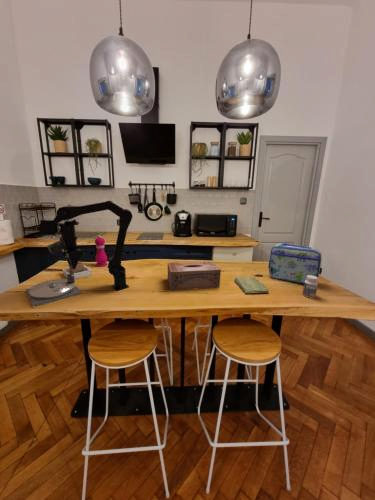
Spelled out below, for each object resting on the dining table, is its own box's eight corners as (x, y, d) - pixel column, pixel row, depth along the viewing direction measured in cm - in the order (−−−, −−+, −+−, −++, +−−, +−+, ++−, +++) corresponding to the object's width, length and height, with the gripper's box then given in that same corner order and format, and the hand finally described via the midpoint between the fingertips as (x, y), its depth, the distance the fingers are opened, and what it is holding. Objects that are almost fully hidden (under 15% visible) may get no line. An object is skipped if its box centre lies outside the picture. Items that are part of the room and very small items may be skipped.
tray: (92, 275, 122) (91, 270, 121) (69, 280, 114) (68, 275, 113) (84, 269, 130) (84, 264, 129) (63, 274, 122) (62, 269, 121)
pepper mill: (103, 267, 134) (101, 236, 129) (93, 266, 136) (90, 236, 130) (109, 264, 141) (107, 234, 136) (100, 263, 142) (97, 233, 137)
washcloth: (245, 295, 103) (246, 289, 102) (232, 281, 120) (233, 275, 119) (270, 294, 105) (271, 288, 104) (254, 280, 122) (255, 275, 121)
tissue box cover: (170, 290, 106) (170, 272, 103) (167, 279, 120) (167, 262, 117) (219, 287, 111) (220, 269, 108) (211, 277, 125) (212, 261, 122)
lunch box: (265, 277, 126) (270, 243, 120) (269, 272, 134) (274, 240, 129) (316, 288, 112) (323, 250, 106) (317, 282, 121) (324, 246, 115)
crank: (33, 303, 88) (31, 290, 86) (26, 288, 100) (24, 277, 99) (81, 290, 100) (79, 279, 98) (69, 279, 112) (68, 268, 111)
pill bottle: (303, 291, 108) (307, 273, 105) (316, 295, 104) (320, 276, 102) (301, 295, 104) (304, 277, 101) (314, 299, 100) (318, 280, 98)
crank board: (81, 293, 100) (81, 290, 100) (33, 307, 87) (32, 304, 87) (69, 281, 113) (69, 278, 113) (25, 291, 100) (25, 288, 100)
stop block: (84, 274, 122) (83, 264, 120) (73, 276, 118) (72, 266, 116) (81, 271, 126) (80, 261, 124) (70, 273, 122) (68, 263, 120)
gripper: (42, 233, 96) (47, 266, 100) (52, 240, 83) (58, 277, 87) (69, 231, 103) (73, 261, 107) (82, 237, 90) (86, 271, 95)
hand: (72, 267), depth 99 cm, fingers open, 5 cm apart
